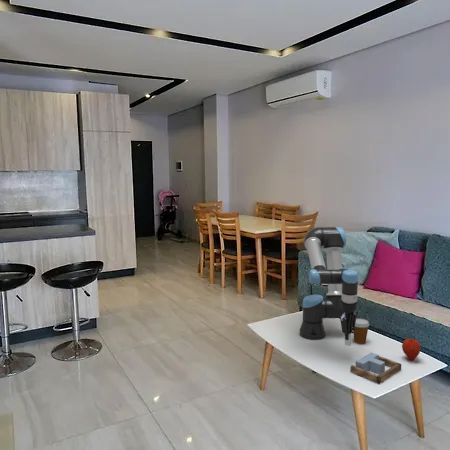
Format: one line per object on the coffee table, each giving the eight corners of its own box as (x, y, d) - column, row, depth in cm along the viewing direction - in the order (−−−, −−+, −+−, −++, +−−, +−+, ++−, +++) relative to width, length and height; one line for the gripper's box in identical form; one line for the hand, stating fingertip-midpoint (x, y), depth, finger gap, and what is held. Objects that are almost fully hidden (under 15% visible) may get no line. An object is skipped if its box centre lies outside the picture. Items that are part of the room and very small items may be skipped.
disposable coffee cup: (347, 339, 229) (348, 319, 227) (360, 336, 232) (361, 317, 231) (359, 346, 220) (359, 325, 218) (372, 343, 224) (373, 322, 222)
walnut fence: (350, 371, 193) (350, 366, 192) (372, 359, 205) (372, 353, 205) (379, 384, 181) (379, 378, 181) (401, 369, 194) (401, 363, 193)
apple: (397, 357, 206) (398, 337, 205) (409, 354, 210) (410, 334, 208) (411, 364, 198) (412, 344, 197) (423, 361, 202) (424, 340, 200)
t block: (355, 370, 194) (355, 361, 193) (371, 361, 203) (371, 352, 202) (374, 378, 186) (374, 368, 186) (390, 368, 195) (390, 358, 194)
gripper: (348, 306, 194) (346, 351, 198) (363, 299, 202) (361, 343, 206) (335, 302, 200) (334, 346, 204) (350, 296, 208) (348, 338, 212)
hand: (347, 344), depth 205 cm, fingers closed
